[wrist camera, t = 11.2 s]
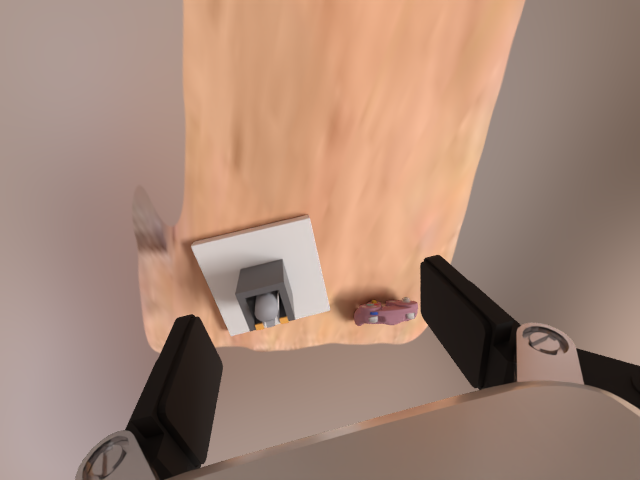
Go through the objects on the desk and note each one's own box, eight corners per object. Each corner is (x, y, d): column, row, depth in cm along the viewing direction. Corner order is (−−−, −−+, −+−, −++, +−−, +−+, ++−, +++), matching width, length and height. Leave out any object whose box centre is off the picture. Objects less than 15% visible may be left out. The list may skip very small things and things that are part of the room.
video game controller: (404, 292, 48) (424, 299, 41) (406, 318, 48) (427, 329, 41) (350, 297, 47) (361, 304, 40) (351, 324, 47) (364, 336, 40)
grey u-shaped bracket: (240, 269, 38) (234, 295, 32) (282, 258, 38) (283, 282, 33) (253, 303, 41) (249, 332, 35) (292, 292, 41) (295, 320, 35)
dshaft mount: (193, 241, 37) (173, 274, 29) (308, 214, 38) (317, 238, 30) (232, 329, 44) (223, 374, 36) (328, 304, 45) (340, 343, 37)
